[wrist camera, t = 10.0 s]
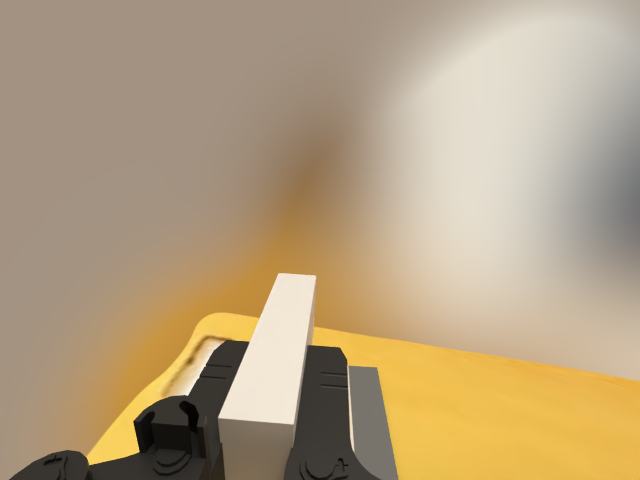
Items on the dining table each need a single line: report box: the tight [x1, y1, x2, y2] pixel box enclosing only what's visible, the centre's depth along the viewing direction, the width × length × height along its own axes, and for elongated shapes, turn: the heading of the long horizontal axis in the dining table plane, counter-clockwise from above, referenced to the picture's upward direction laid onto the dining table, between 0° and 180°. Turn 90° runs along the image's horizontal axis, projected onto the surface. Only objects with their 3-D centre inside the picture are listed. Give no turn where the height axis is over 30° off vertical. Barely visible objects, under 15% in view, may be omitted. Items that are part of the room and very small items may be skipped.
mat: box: [348, 366, 398, 480], centre depth 37 cm, size 20×26×1 cm
